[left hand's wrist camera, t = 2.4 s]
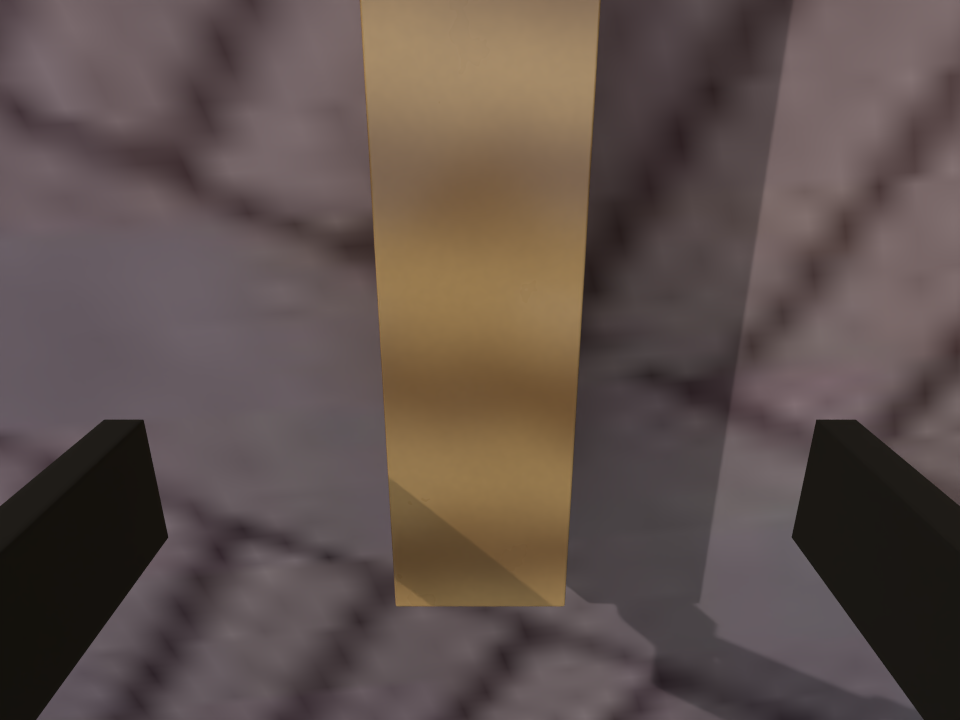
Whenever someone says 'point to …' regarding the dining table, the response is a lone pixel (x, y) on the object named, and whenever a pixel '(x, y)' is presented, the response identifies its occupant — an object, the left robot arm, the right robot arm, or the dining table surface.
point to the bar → (480, 285)
